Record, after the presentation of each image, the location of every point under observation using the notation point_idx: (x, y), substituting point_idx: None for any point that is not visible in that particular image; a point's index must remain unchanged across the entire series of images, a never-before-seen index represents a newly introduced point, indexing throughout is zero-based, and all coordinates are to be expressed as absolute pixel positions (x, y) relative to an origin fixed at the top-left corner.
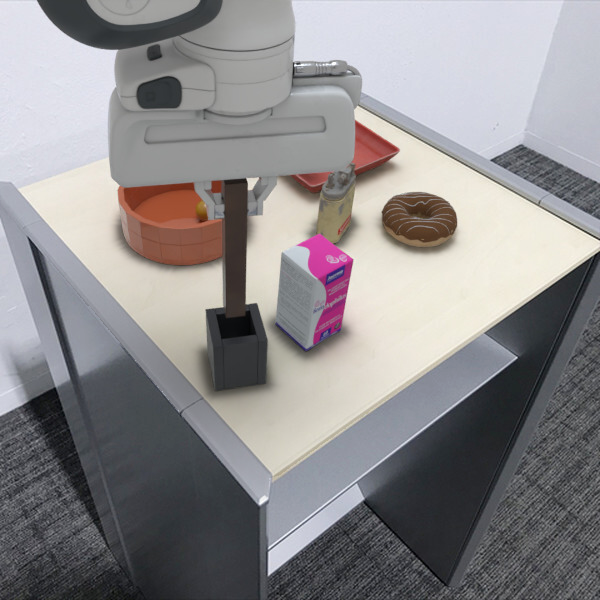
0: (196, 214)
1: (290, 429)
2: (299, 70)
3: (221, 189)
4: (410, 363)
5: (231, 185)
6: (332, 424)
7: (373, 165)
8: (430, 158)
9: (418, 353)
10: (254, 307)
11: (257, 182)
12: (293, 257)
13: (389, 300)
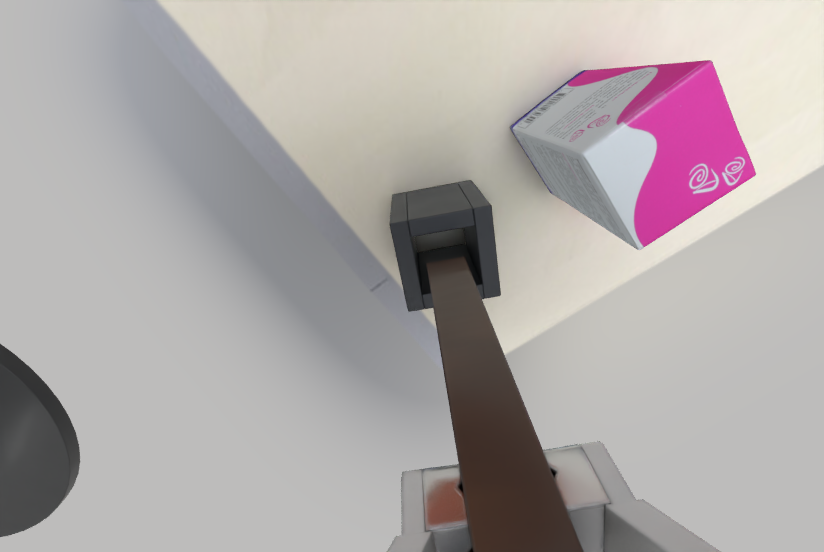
0: None
1: (504, 322)
2: None
3: (471, 541)
4: (709, 215)
5: None
6: (559, 316)
7: None
8: None
9: (732, 194)
10: (484, 219)
11: (648, 546)
12: (607, 175)
13: (746, 53)
